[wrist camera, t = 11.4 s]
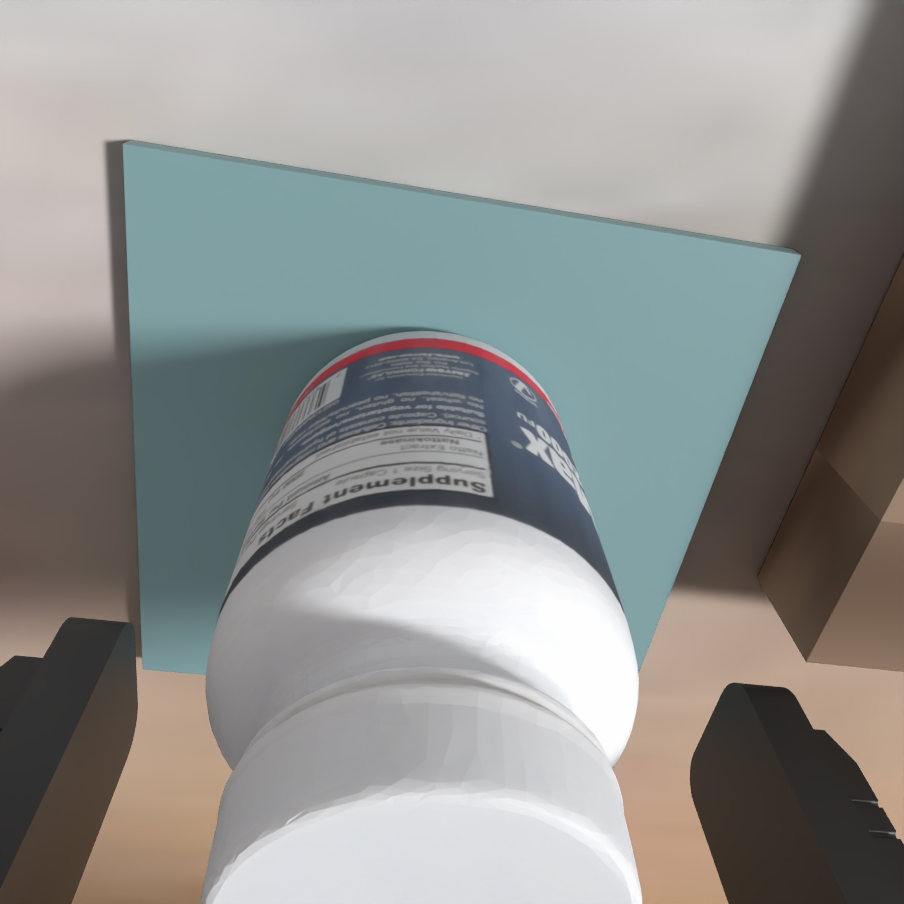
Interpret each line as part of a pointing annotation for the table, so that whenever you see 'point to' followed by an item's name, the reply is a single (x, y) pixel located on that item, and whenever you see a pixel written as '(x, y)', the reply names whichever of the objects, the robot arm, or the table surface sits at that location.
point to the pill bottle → (422, 650)
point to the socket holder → (851, 516)
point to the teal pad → (405, 310)
